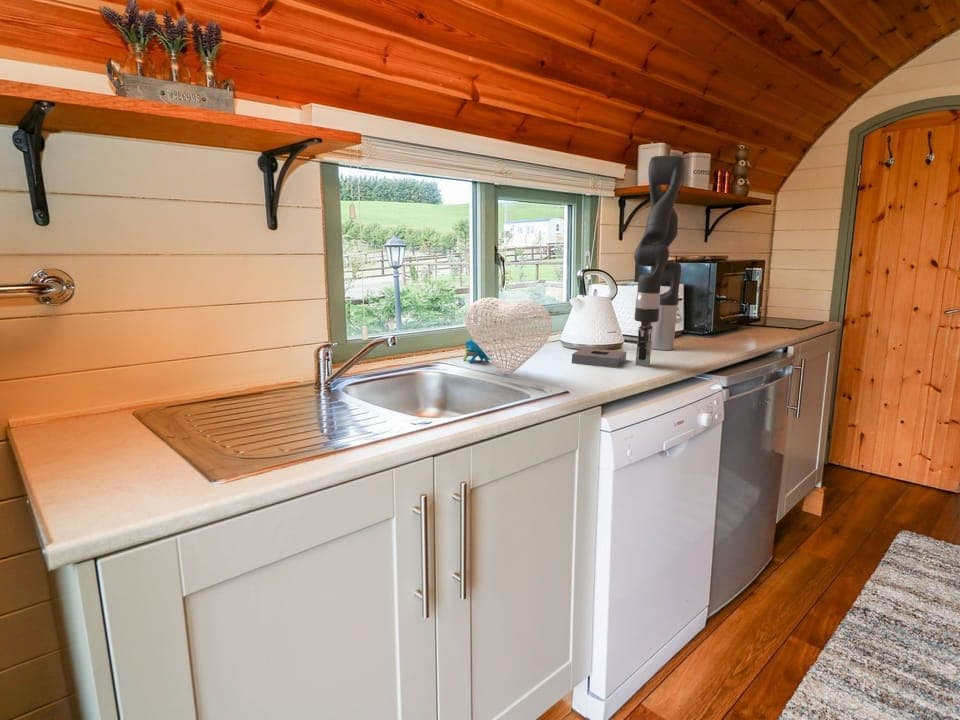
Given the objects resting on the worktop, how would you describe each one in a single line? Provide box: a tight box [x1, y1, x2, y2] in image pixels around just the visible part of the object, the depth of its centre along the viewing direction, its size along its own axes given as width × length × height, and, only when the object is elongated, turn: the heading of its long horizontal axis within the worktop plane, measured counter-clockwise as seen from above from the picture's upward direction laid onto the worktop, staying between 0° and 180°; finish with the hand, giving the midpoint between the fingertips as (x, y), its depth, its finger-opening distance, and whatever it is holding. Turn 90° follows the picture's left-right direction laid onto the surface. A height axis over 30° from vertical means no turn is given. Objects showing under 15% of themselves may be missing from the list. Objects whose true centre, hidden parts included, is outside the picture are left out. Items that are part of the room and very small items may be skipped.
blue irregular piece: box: [462, 339, 493, 364], centre depth 189 cm, size 11×6×10 cm
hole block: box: [571, 347, 627, 369], centre depth 196 cm, size 15×15×3 cm
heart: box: [465, 296, 553, 375], centre depth 171 cm, size 28×16×22 cm, turn 47°
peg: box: [635, 340, 652, 367], centre depth 192 cm, size 4×4×8 cm
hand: (643, 358), depth 192 cm, fingers closed on peg, 4 cm apart
